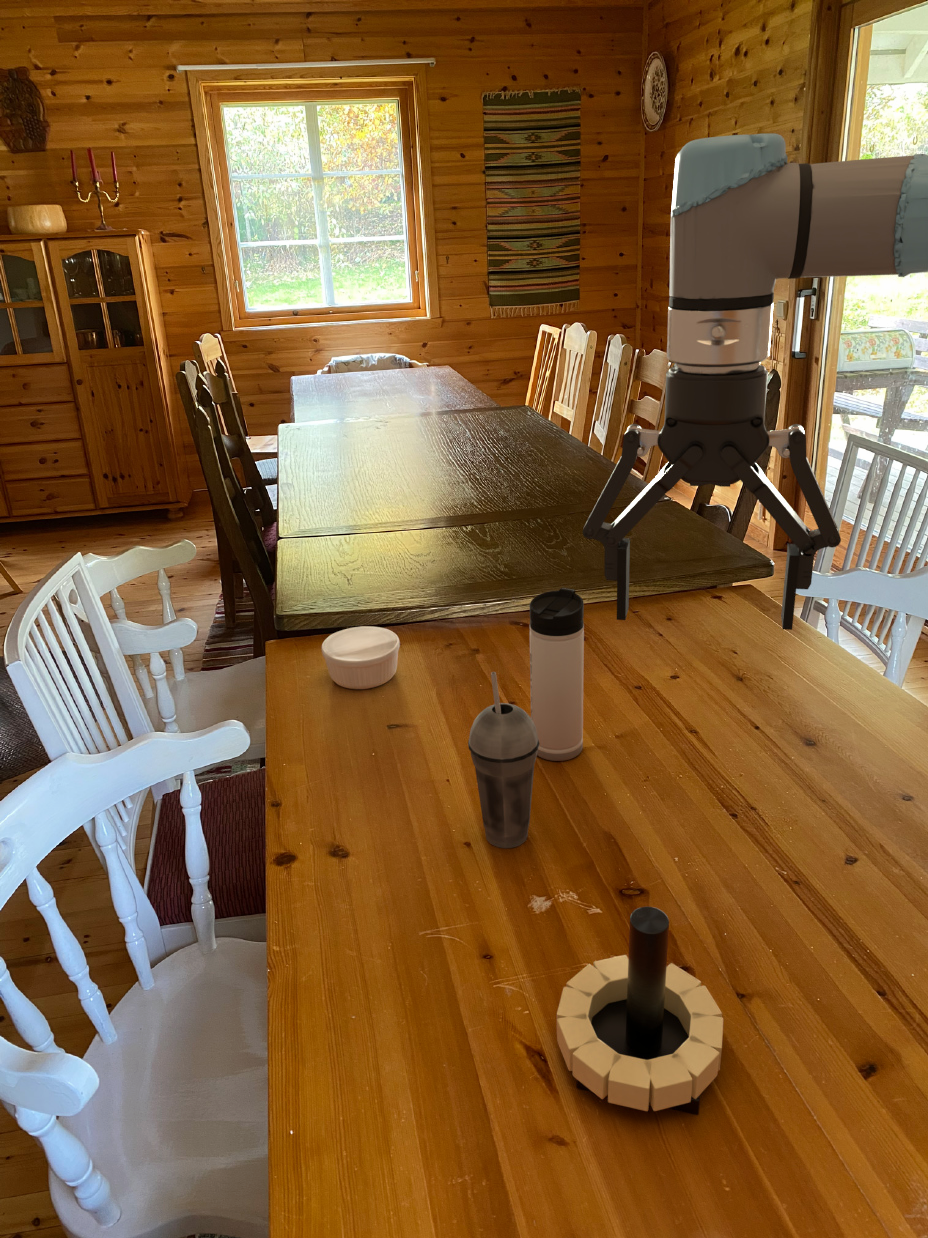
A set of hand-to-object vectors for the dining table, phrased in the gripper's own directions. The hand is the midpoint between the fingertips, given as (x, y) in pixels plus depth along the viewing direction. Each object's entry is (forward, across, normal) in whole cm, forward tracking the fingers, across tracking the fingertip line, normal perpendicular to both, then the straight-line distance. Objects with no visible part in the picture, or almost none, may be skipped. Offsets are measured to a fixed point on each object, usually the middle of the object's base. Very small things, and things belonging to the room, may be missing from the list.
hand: (702, 618), depth 78 cm
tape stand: (+28, -2, -21) cm, 35 cm away
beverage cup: (+28, -19, +3) cm, 34 cm away
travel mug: (+28, -17, +21) cm, 39 cm away
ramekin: (+28, -47, +35) cm, 65 cm away
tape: (+27, -3, -21) cm, 34 cm away
